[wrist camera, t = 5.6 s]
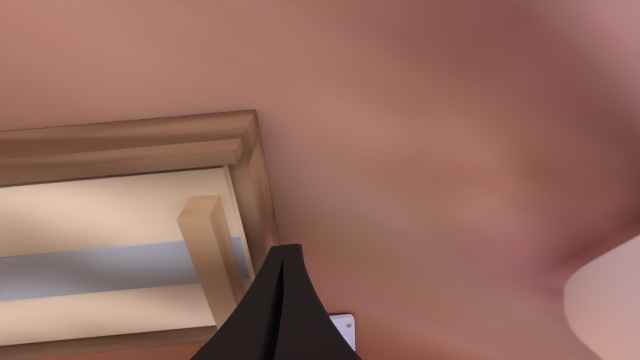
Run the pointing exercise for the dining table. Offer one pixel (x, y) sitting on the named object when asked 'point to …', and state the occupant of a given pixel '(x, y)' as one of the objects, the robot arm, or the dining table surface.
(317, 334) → the robot arm
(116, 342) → the keepsake box
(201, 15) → the dining table surface
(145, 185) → the lid
